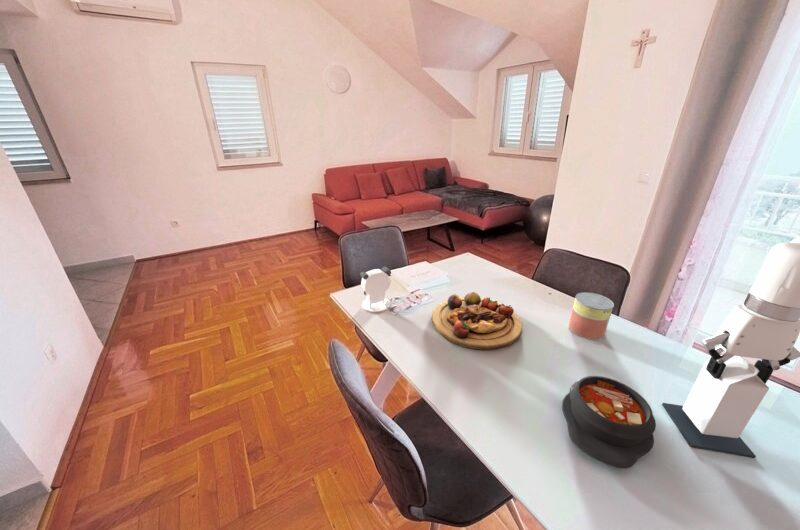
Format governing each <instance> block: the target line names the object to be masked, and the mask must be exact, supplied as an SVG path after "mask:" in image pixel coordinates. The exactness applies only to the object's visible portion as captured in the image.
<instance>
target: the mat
mask: <svg viewBox="0 0 800 530" xmlns="http://www.w3.org/2000/svg"><path fill="white" fill-rule="evenodd" d="M683 406H684V405H680V404H674V403H667V402H662V407H663V408H664V410H665V411H666V412H667V414H668V416H669V417H670V419H671V420H672V422H673V423H674V424H675V426H676V428H677V429H678V428H679V429H678V431H679V432H680V433H681V435H682V436H683V438H684V439H685V441H686V443H687V444H688V446H689V447H690V448H695V449H701V450H706V451H712V452H718V453H724V454H730V455H734V456H740V457H741V456H742V457H746V458H752V459H755V458H757V455H756V454H755V453H754V452H753V451H752V450H751V448H750V447H749V446H748V445H747V444H746V443H745V441H744V440H743V439H742V438H741V436H739V438H731V437H723V436H715V435H707V434H702V433H701V432H700V431H699V429H698V428H697V427H696V426H695V424H694V423H693V422H692V421H691V419H690V418H689V417H688V416H687V414H686V413H685V412H684V411H683V409H682V408H683Z"/></svg>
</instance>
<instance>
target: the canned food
mask: <svg viewBox="0 0 800 530" xmlns="http://www.w3.org/2000/svg"><path fill="white" fill-rule="evenodd" d="M614 307H615V303H614V301H613V300H611V299H610V298H608V297H606V296H604V295H603V294H599V293H595V292H589V291H583V292H579V293H576V295H575V298H574V302H573V306H572V310H571V313H570V318H569V321H568V323H567V327H568V330H569V331H570V332H571V333H573V334H574V335H577V337H580V338H582V339H586V340H592V341H599V340H602V339H603V338H604V337H605V334H606V331H607V328H608V325H609V323H610V319H611V316H612V312H613V309H614Z"/></svg>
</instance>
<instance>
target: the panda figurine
mask: <svg viewBox="0 0 800 530" xmlns="http://www.w3.org/2000/svg"><path fill="white" fill-rule="evenodd" d="M391 274H392V271H391V270H390V269H389V268H388V267H386V266H382V268H381V269H380V268H374V269H370V270H368V271H360V273H359V275H360V277H361V281H360V286H361V289H362V290H363V295H364V296H365V299H364V300H363V301H362V302H361V308H362V309H363V310H364V311H366V312H369V313H380V312H384V311H386V310H387V309H388V308H386V305H385V304H386V302H387V301H389V302H390V300H389V298H388V299H387V298H386V292H387V291H388V289H389V288H390V287H391V282H392V281H391V278H390V275H391Z"/></svg>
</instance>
